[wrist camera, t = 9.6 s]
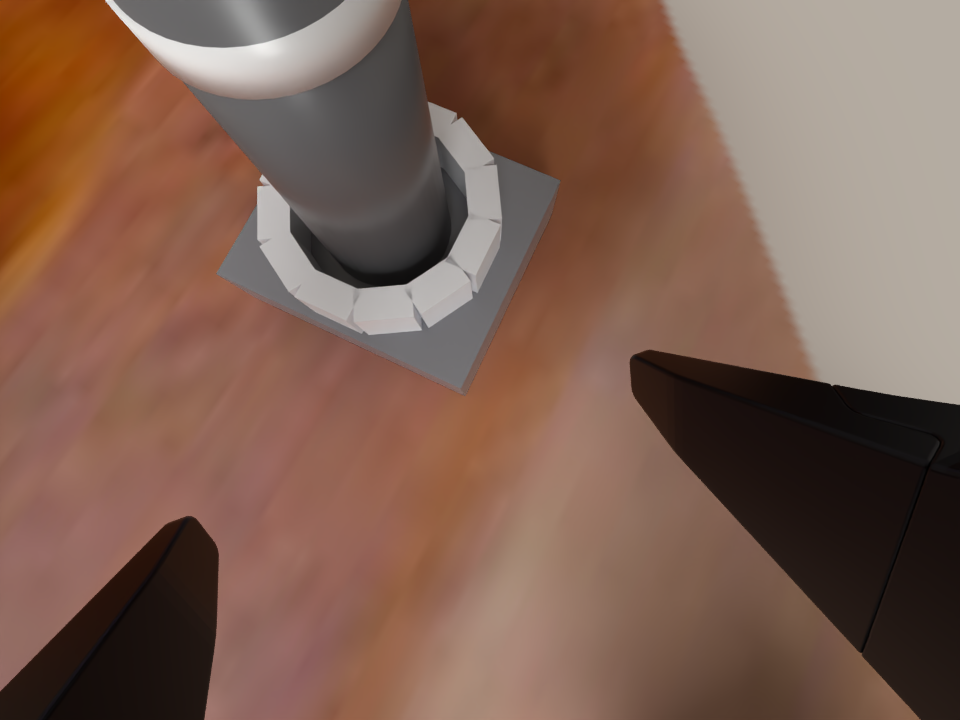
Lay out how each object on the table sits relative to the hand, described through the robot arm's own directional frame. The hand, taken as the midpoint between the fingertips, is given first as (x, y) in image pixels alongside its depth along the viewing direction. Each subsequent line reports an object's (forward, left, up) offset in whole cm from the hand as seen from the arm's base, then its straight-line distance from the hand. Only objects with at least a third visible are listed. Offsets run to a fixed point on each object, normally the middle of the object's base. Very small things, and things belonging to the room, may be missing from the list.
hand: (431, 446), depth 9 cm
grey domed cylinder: (+6, -7, -8) cm, 12 cm away
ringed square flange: (+6, -7, -11) cm, 15 cm away
